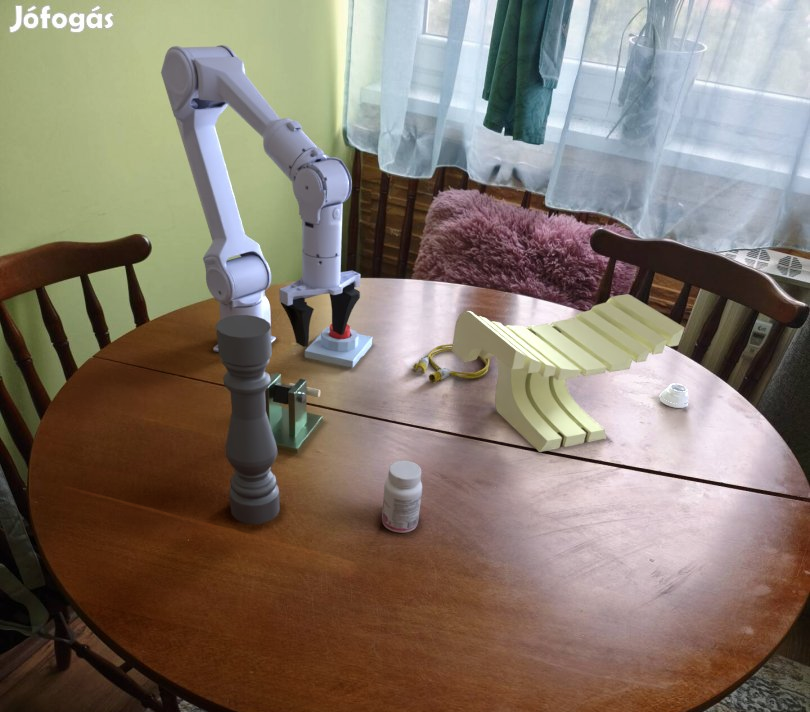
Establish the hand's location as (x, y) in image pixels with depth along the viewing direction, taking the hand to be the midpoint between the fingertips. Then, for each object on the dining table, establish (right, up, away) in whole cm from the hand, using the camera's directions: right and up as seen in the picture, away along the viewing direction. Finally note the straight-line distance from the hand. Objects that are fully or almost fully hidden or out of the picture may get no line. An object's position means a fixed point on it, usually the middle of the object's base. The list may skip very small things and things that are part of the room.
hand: (320, 338), depth 111 cm
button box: (+2, +2, +15) cm, 15 cm away
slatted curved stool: (+37, -13, +3) cm, 39 cm away
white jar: (+61, -8, +12) cm, 63 cm away
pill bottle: (+13, -30, -21) cm, 39 cm away
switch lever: (-3, -11, -8) cm, 14 cm away
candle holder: (-6, -29, -22) cm, 37 cm away
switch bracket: (-4, -16, -7) cm, 18 cm away
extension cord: (+22, -1, +15) cm, 26 cm away
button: (+2, +4, +13) cm, 14 cm away
